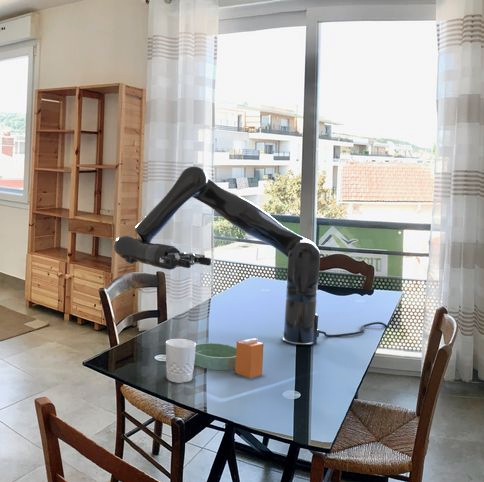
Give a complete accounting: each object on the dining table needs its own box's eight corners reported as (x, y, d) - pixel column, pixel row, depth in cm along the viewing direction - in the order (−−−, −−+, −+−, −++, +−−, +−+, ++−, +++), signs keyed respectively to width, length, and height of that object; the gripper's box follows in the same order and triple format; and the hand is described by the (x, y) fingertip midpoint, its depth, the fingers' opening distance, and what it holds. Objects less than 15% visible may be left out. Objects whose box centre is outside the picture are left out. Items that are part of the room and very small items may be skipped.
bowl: (231, 355, 186) (231, 342, 186) (249, 371, 172) (250, 357, 171) (184, 355, 185) (184, 343, 185) (198, 372, 171) (198, 358, 170)
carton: (247, 370, 172) (248, 336, 171) (262, 376, 168) (263, 340, 167) (235, 374, 170) (236, 338, 168) (249, 379, 166) (251, 343, 164)
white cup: (161, 374, 169) (162, 338, 168) (189, 373, 170) (190, 338, 169) (169, 384, 161) (170, 347, 160) (198, 383, 162) (199, 347, 161)
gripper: (145, 245, 192) (183, 252, 179) (178, 242, 200) (217, 248, 186) (144, 269, 193) (182, 278, 180) (177, 265, 201) (216, 273, 187)
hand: (200, 263), depth 183 cm, fingers open, 8 cm apart
